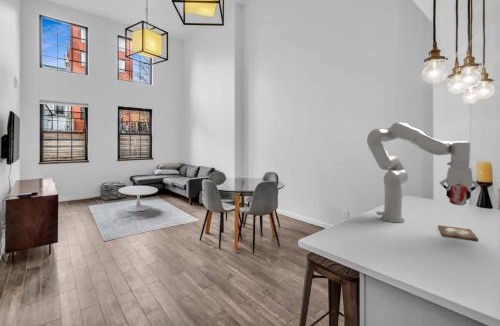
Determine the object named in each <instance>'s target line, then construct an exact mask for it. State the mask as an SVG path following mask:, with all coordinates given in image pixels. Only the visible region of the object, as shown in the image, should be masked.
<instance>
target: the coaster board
mask: <svg viewBox="0 0 500 326" xmlns="http://www.w3.org/2000/svg"><path fill="white" fill-rule="evenodd" d="M437 227H438V230H439V231H440V234H441V236H442V237H445V238H454V239H459V240H466V241H467V240H468V241H472V242H473V241H476V242H479V238H478V237H477V235H476V234H475V233H474V232H473V231H472V229H471V228H463V227H454V226H448V225H447V226H446V225H439V224H438V226H437Z"/></svg>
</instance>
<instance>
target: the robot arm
mask: <svg viewBox="0 0 500 326" xmlns="http://www.w3.org/2000/svg"><path fill="white" fill-rule="evenodd" d="M396 139H401V140H403V141H406V142H407V143H410V144H412V145H414V146H416V147H417V148H419V149H421V150H423V151H426V153H427V152H428V153H429V154H433V155H435V156H447V155H450V160H449V162H447V163H446V165H447V166H449V167H448V168H447V171H446V172H447V174H446V178H444V179H442V180H441V181H439V184H440V185H441V187H443V188H444V189H445V190H446V197H447V198H448V199H449V198H450V195H451V191H450V189H451V186H455V185H456V184H462V185H464V186H465V187H467V201H468V200H470V198H471V195H472V194H471V193H472V192H473V191H475V190H476V189H477V188H478V187H479V186H480V184H479V183H478V182H476V181H474V179H473V171H472V170H473V169H472V167H470V159H471V158H470V156H471V143H470V142H469V141H462V140H461V141H460V140H459V141H445V140H444V141H443V140H442V141H441V140H438V139H436V138H433V137H431V136H428V135H426V134H425V133H424V131H422V130H420V129H418V128H415V127H412V126H410V124H408V123H406V122H401V121H400V122H399V121H398V122H394V123H393V124H392V125H390V126H389V127H387V128H375V129H372V130H371V131H370V132H369V133H368V135H367V137H366V143H367V146H368V148H369V150H370V152H371V153H372V156H373V158H374V159H375V162H376V164H377V166H378V167H379V168H380V169H381V170H384V171H387V172H386V173H385V174H384V176H383V186H384V203H383V205H384V206H383V208H384V210H383V211H376V215H377V216H380V217H381V219H382V220H383V221H386V222H391V223H403V222H405V219H404V217H403V216H402V210H403V209H402V204H403V189H402V185H403V184H405V183H406V182H408V180H409V175H408V172H407V170H406V169H405V167H404V165H403V163H402V162H401V160H400V159H399V158H398V157H397V156H396V155H394V154H390V153H389V152H388V150H387V148H386V147H385V145H384V144H383V143H384V142H385V143H386V142H389V141H390V142H391V141H393V140H396ZM382 142H383V143H382ZM445 183H446V184H445Z"/></svg>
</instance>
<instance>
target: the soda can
mask: <svg viewBox="0 0 500 326" xmlns="http://www.w3.org/2000/svg"><path fill="white" fill-rule="evenodd" d="M450 191H451V195H450V198H448V199H449V201H448V202H449V203H450V204H451V205H454V206H464V205H466V204H467V201H468V200H467V187H465V186H464V185H462V184H456V185H455V186H451V189H450Z"/></svg>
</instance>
